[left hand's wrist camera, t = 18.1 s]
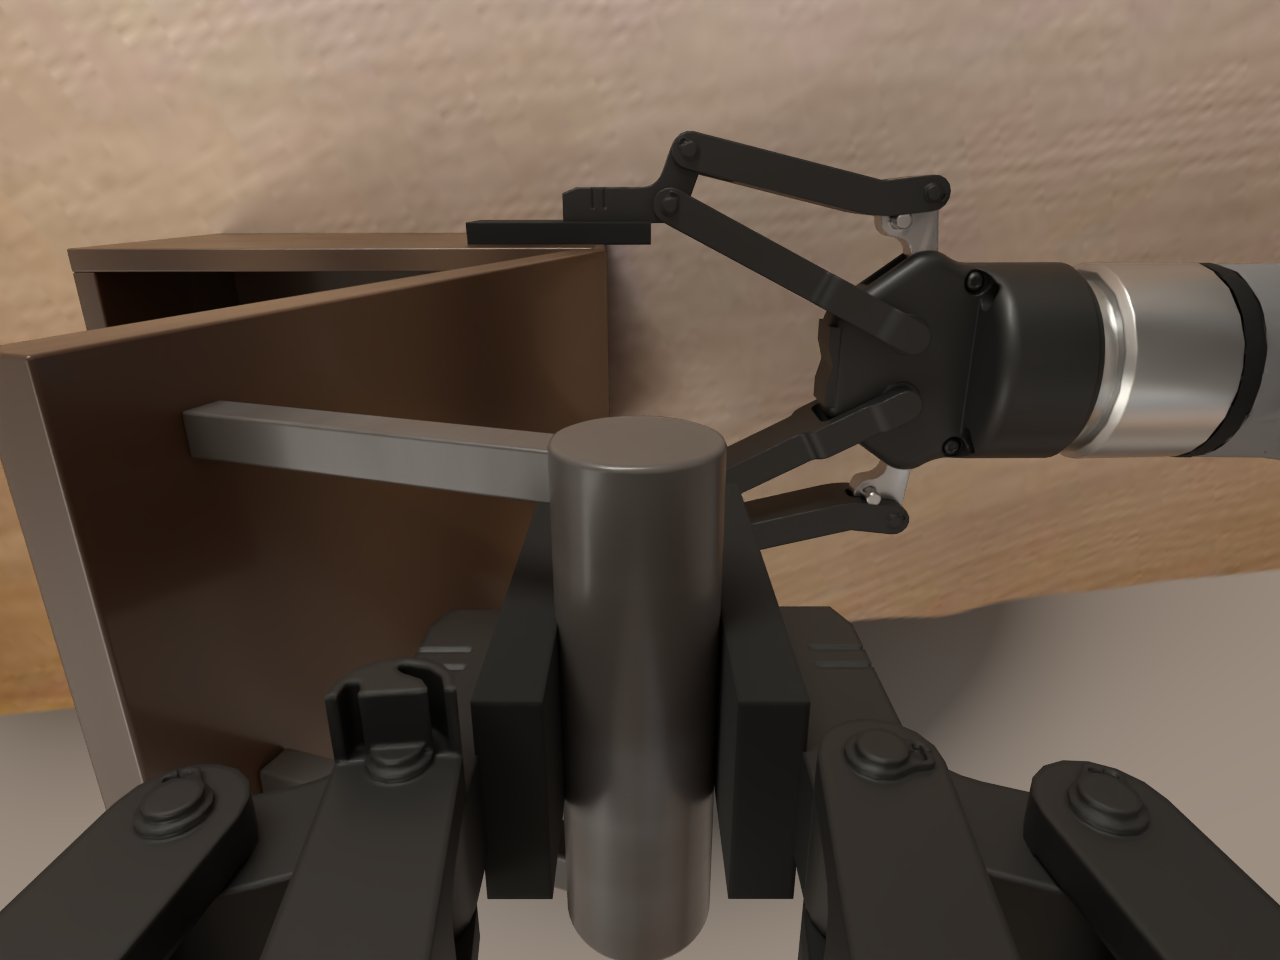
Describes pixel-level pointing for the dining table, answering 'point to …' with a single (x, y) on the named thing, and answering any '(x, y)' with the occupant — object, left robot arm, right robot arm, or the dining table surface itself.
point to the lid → (383, 545)
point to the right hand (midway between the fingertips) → (484, 364)
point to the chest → (262, 268)
